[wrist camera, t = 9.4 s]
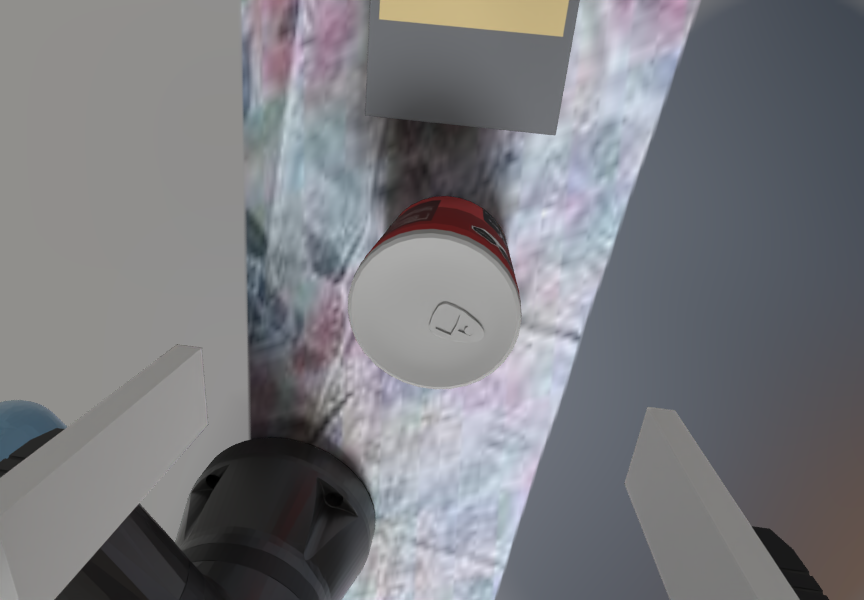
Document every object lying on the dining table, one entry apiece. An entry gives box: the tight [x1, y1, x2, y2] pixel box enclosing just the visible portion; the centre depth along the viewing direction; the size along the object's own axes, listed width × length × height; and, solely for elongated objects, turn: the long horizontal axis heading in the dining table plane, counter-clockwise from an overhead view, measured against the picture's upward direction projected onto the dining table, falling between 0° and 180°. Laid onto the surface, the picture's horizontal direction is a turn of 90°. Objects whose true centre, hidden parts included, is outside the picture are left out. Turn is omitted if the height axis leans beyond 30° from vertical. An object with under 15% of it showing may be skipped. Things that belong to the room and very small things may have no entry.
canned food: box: [348, 196, 521, 389], centre depth 27 cm, size 8×8×11 cm
